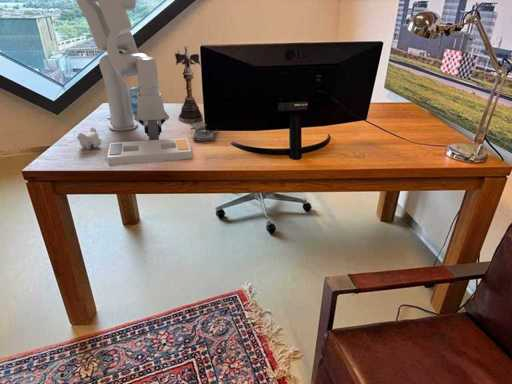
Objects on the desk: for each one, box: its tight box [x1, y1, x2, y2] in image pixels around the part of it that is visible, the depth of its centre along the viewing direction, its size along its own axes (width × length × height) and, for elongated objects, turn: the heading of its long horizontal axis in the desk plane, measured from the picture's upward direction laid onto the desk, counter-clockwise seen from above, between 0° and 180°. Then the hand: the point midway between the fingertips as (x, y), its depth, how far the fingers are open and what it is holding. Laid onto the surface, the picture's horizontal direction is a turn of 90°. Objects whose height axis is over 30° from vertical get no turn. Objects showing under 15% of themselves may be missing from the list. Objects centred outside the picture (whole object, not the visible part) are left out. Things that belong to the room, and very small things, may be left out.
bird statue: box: [174, 45, 203, 124], centre depth 172 cm, size 17×13×35 cm
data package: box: [129, 86, 139, 113], centre depth 183 cm, size 12×4×12 cm, turn 95°
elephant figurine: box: [76, 127, 104, 150], centre depth 142 cm, size 8×10×7 cm
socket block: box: [107, 137, 192, 166], centre depth 139 cm, size 30×14×3 cm, turn 106°
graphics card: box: [189, 122, 218, 141], centre depth 159 cm, size 17×4×12 cm
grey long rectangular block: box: [147, 120, 160, 140], centre depth 147 cm, size 4×4×14 cm
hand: (153, 134), depth 149 cm, fingers closed on grey long rectangular block, 4 cm apart
